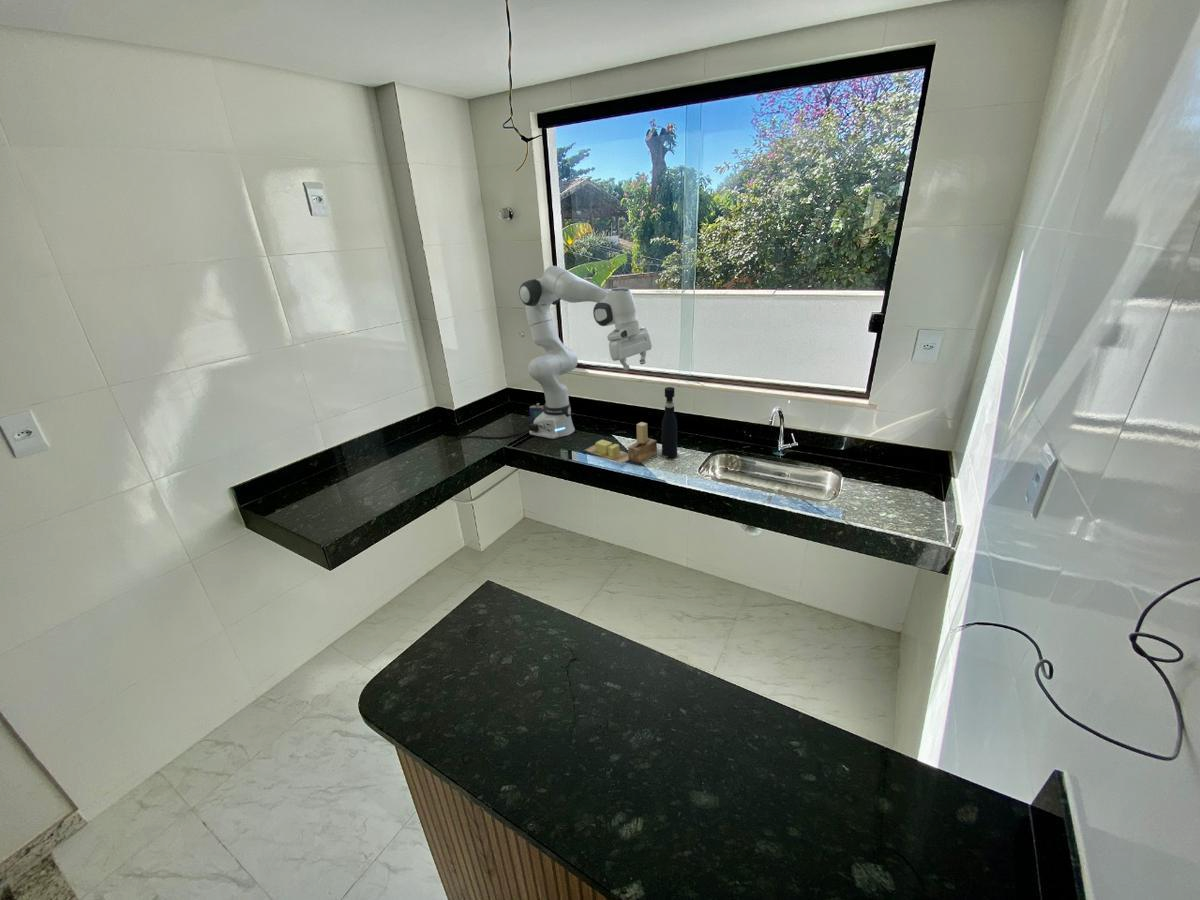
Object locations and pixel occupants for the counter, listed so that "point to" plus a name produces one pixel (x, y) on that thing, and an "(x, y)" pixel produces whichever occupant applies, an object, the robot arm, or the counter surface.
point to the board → (619, 457)
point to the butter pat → (614, 450)
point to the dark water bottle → (669, 427)
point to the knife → (642, 433)
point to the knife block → (642, 451)
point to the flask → (535, 412)
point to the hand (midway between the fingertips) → (635, 366)
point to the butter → (603, 446)
